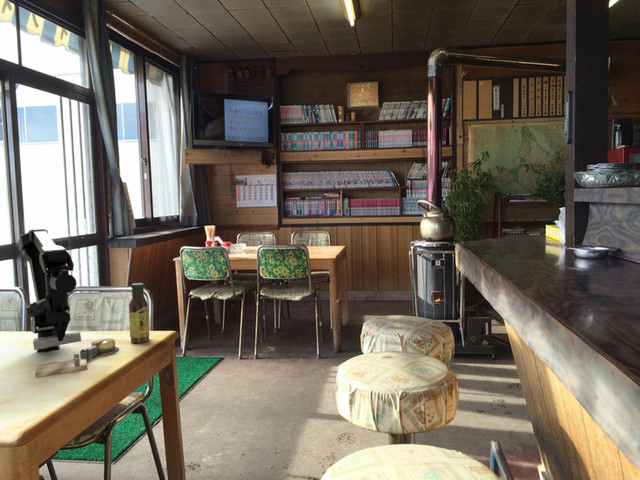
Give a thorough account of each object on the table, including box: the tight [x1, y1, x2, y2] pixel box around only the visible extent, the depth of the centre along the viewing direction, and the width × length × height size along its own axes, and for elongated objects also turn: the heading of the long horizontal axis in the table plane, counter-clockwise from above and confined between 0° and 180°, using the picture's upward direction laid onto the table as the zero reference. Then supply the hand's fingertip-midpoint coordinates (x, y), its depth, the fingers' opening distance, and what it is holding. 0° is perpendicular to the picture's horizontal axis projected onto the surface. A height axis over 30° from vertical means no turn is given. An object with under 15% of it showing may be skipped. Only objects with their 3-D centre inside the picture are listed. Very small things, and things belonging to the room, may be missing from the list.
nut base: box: [92, 346, 120, 357], centre depth 160 cm, size 9×9×1 cm
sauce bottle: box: [128, 282, 150, 344], centre depth 170 cm, size 6×6×20 cm
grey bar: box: [32, 331, 82, 351], centre depth 153 cm, size 13×4×3 cm, turn 117°
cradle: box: [34, 353, 88, 378], centre depth 143 cm, size 13×6×3 cm, turn 117°
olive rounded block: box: [79, 338, 116, 360], centre depth 157 cm, size 14×7×3 cm, turn 169°
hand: (60, 339), depth 153 cm, fingers closed on grey bar, 3 cm apart
